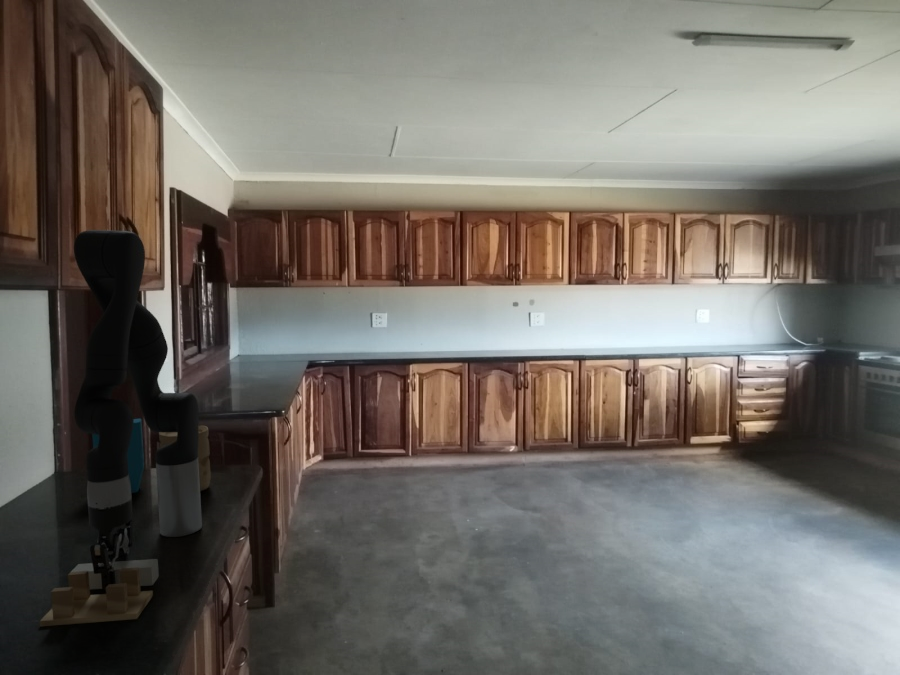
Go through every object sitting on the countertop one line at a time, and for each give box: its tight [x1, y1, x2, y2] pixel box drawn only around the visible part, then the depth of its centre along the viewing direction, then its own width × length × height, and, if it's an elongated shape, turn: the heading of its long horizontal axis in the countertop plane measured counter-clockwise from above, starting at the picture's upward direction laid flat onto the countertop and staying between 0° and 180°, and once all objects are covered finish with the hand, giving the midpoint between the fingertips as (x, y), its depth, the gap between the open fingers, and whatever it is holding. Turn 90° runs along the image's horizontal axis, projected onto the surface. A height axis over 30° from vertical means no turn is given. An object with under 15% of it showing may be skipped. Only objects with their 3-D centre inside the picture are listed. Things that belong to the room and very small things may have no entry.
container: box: [158, 425, 212, 492], centre depth 170 cm, size 13×13×18 cm
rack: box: [39, 567, 154, 627], centre depth 111 cm, size 8×16×6 cm, turn 97°
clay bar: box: [70, 558, 160, 591], centre depth 121 cm, size 4×15×4 cm, turn 97°
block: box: [91, 418, 145, 494], centre depth 171 cm, size 12×5×20 cm, turn 113°
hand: (115, 580), depth 121 cm, fingers open, 5 cm apart
